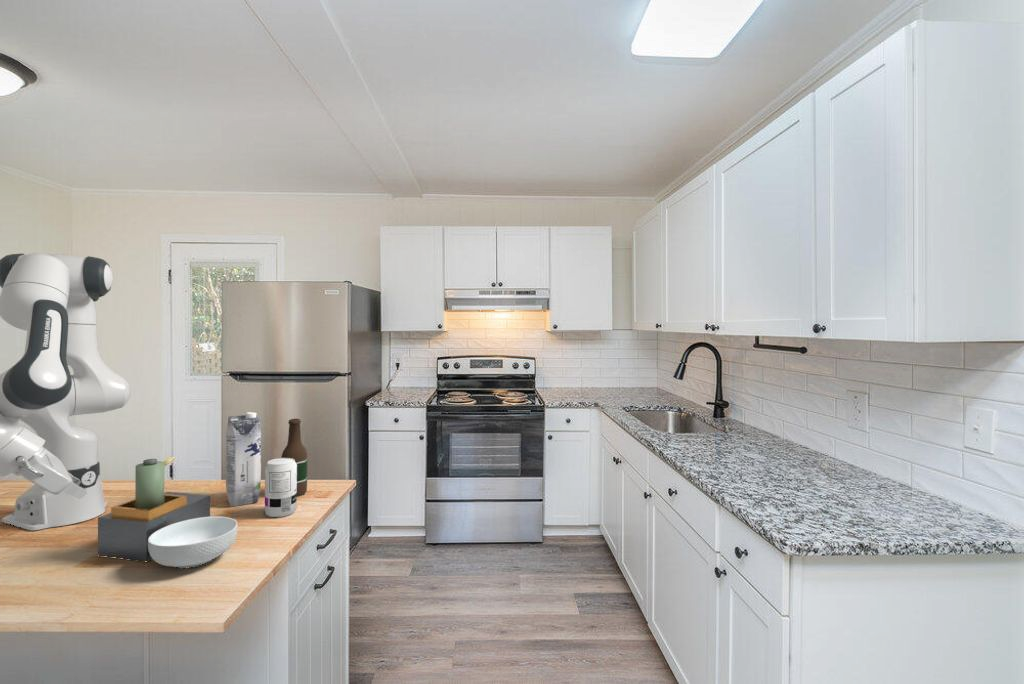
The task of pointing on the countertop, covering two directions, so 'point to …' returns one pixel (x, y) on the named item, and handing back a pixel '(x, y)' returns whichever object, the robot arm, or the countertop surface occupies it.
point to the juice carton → (243, 459)
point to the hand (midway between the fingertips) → (80, 489)
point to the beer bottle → (297, 455)
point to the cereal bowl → (192, 541)
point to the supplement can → (280, 487)
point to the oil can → (150, 483)
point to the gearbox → (145, 524)
